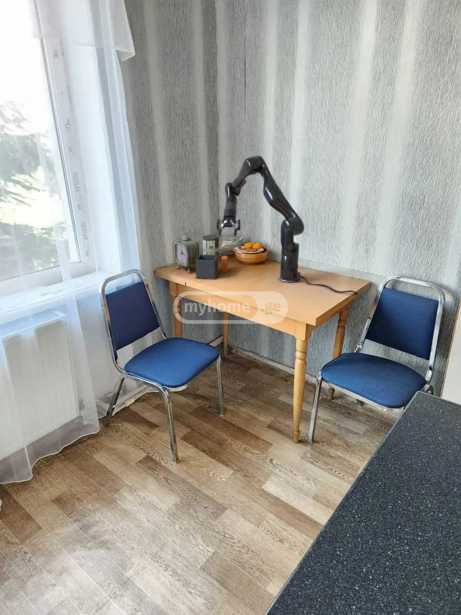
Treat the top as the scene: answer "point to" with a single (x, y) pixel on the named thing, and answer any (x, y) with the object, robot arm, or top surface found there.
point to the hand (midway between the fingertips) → (227, 235)
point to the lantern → (211, 245)
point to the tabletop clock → (185, 251)
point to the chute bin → (206, 266)
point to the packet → (224, 263)
